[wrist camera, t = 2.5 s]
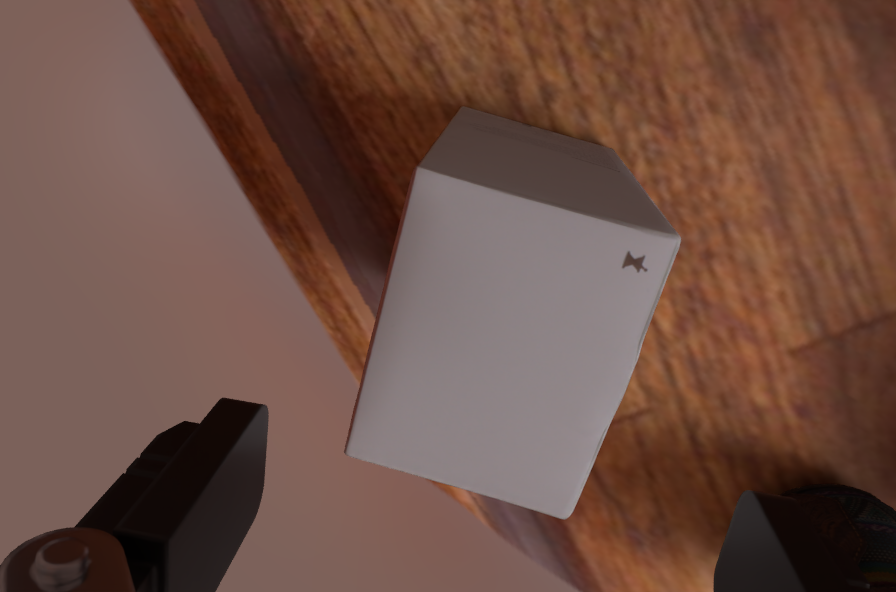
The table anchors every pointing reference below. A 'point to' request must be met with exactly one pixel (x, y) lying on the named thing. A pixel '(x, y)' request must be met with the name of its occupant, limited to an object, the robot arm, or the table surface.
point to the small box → (510, 313)
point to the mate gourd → (854, 528)
